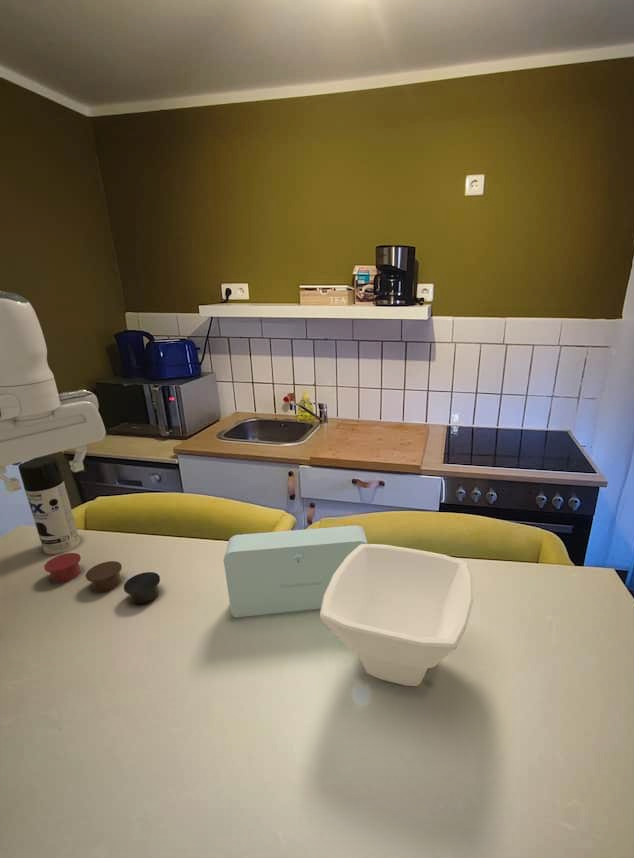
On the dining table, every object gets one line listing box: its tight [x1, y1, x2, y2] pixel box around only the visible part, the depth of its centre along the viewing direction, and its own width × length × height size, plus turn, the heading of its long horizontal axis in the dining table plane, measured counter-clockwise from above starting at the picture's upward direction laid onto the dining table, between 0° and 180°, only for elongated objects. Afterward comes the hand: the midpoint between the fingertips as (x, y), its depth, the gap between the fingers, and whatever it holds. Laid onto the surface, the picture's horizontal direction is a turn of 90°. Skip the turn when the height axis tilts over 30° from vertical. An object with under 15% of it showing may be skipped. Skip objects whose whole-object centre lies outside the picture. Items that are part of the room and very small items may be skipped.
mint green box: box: [223, 524, 369, 618], centre depth 73 cm, size 23×6×13 cm, turn 98°
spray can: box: [17, 456, 81, 555], centre depth 89 cm, size 7×7×20 cm
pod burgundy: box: [43, 552, 82, 584], centre depth 82 cm, size 6×6×4 cm
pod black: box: [123, 571, 161, 606], centre depth 76 cm, size 6×6×4 cm
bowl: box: [319, 543, 474, 687], centre depth 61 cm, size 19×19×14 cm
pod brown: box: [85, 560, 123, 593], centre depth 80 cm, size 6×6×4 cm
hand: (47, 479), depth 72 cm, fingers open, 8 cm apart
